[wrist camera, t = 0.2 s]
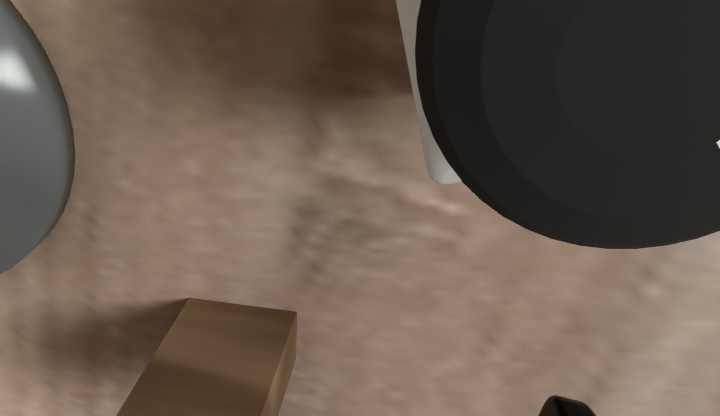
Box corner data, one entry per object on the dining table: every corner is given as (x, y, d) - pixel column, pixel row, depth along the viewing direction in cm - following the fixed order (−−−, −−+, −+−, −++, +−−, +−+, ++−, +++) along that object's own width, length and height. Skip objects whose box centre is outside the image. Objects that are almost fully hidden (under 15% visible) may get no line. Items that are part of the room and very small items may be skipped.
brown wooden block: (295, 358, 26) (239, 535, 19) (192, 344, 27) (100, 513, 20) (296, 312, 25) (237, 481, 18) (188, 297, 26) (89, 459, 18)
